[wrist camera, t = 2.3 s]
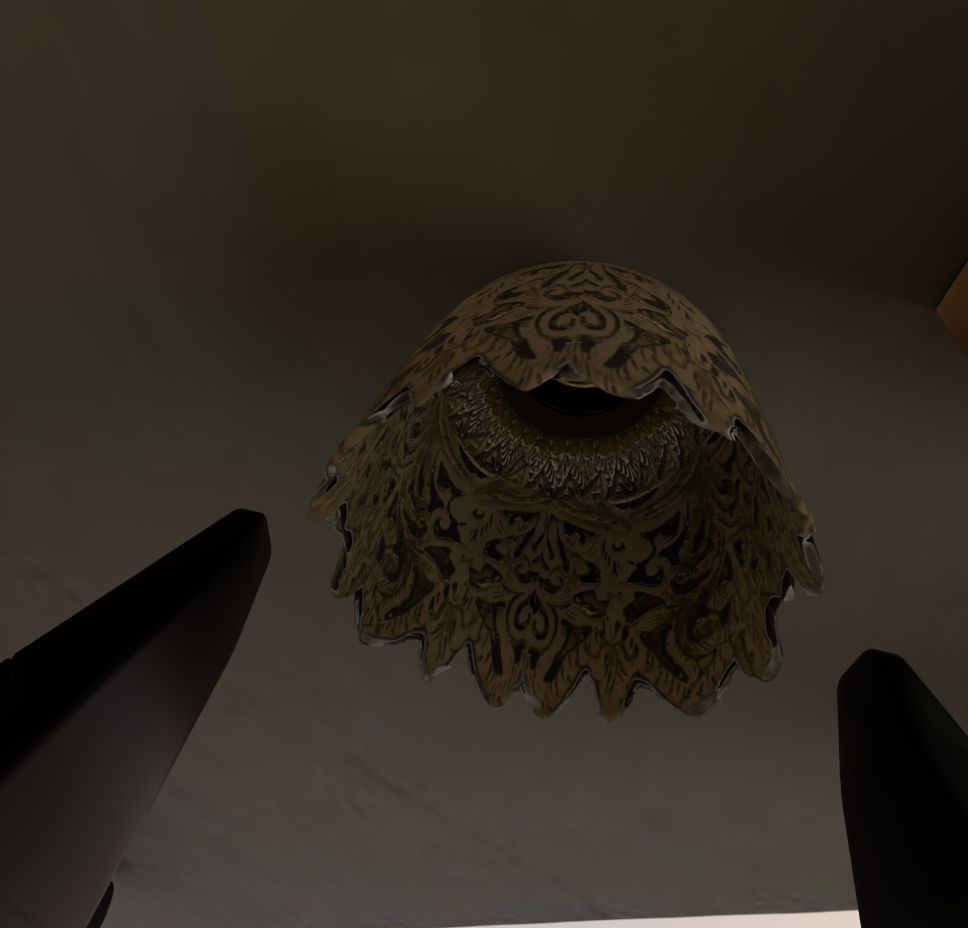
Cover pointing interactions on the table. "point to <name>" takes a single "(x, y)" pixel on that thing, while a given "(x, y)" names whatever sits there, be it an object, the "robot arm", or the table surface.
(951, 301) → the rack
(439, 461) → the ornate brown dome cover
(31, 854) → the robot arm
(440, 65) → the table surface
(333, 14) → the table surface
